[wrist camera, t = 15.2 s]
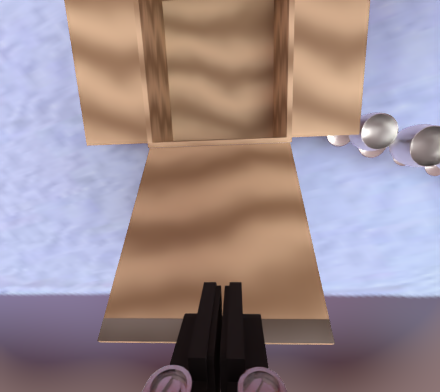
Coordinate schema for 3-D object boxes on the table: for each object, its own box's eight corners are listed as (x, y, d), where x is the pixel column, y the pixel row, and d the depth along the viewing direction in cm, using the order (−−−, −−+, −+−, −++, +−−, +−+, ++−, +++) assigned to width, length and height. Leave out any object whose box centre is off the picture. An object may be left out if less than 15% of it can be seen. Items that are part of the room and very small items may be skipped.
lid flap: (97, 341, 19) (101, 342, 20) (334, 343, 18) (332, 344, 19) (149, 147, 33) (151, 151, 33) (289, 142, 31) (289, 146, 32)
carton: (108, 2, 40) (56, -53, 28) (332, -15, 38) (376, -83, 26) (126, 146, 45) (87, 150, 33) (324, 138, 43) (358, 139, 31)
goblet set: (319, 145, 43) (356, 149, 30) (333, 111, 42) (378, 99, 29) (475, 196, 43) (577, 221, 30) (494, 163, 42) (609, 175, 29)
